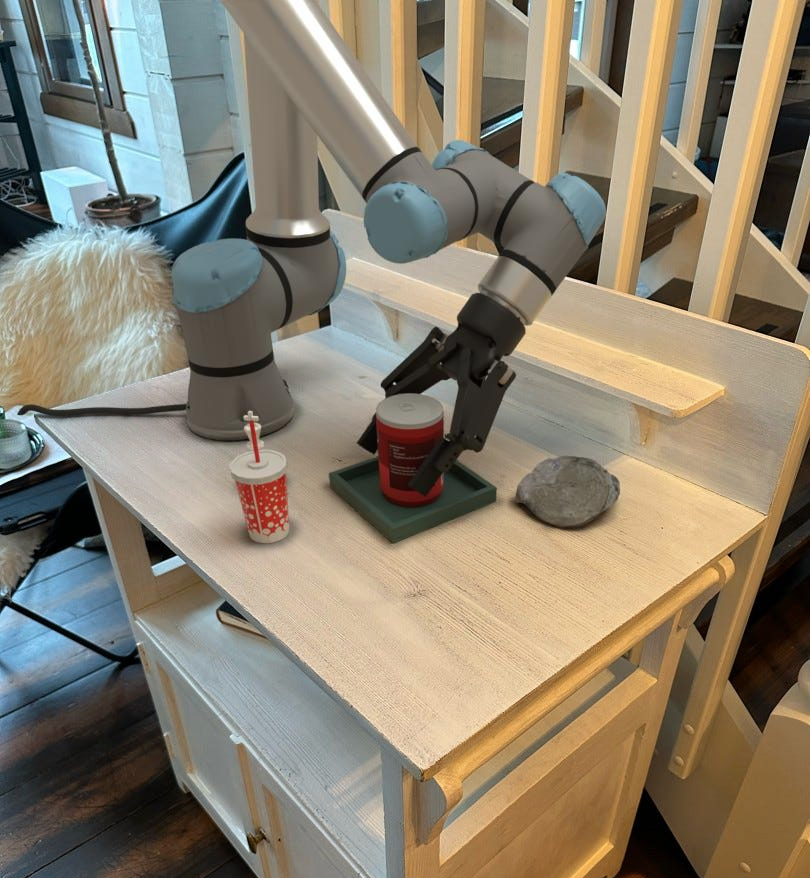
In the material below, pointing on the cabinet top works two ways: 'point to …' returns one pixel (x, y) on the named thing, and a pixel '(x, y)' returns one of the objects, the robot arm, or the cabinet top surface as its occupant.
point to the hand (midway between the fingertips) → (389, 469)
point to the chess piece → (257, 430)
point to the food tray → (403, 521)
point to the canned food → (407, 444)
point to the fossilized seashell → (568, 491)
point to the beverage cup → (262, 492)
